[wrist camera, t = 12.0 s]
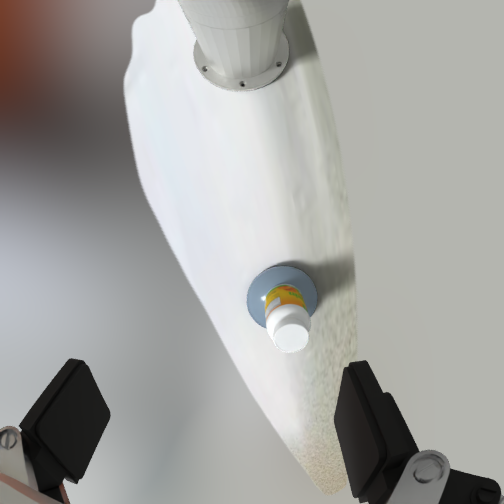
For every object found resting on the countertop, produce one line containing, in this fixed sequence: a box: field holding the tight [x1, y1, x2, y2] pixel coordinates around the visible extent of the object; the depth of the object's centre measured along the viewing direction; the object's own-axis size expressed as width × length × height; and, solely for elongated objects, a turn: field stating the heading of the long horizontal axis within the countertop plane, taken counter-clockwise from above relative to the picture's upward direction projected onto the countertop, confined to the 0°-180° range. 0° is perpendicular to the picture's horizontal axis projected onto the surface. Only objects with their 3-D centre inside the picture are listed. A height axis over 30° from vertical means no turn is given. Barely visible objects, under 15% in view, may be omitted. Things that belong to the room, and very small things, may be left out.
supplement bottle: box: [265, 284, 311, 353], centre depth 35 cm, size 5×5×10 cm
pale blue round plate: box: [247, 266, 317, 329], centre depth 40 cm, size 10×10×2 cm
